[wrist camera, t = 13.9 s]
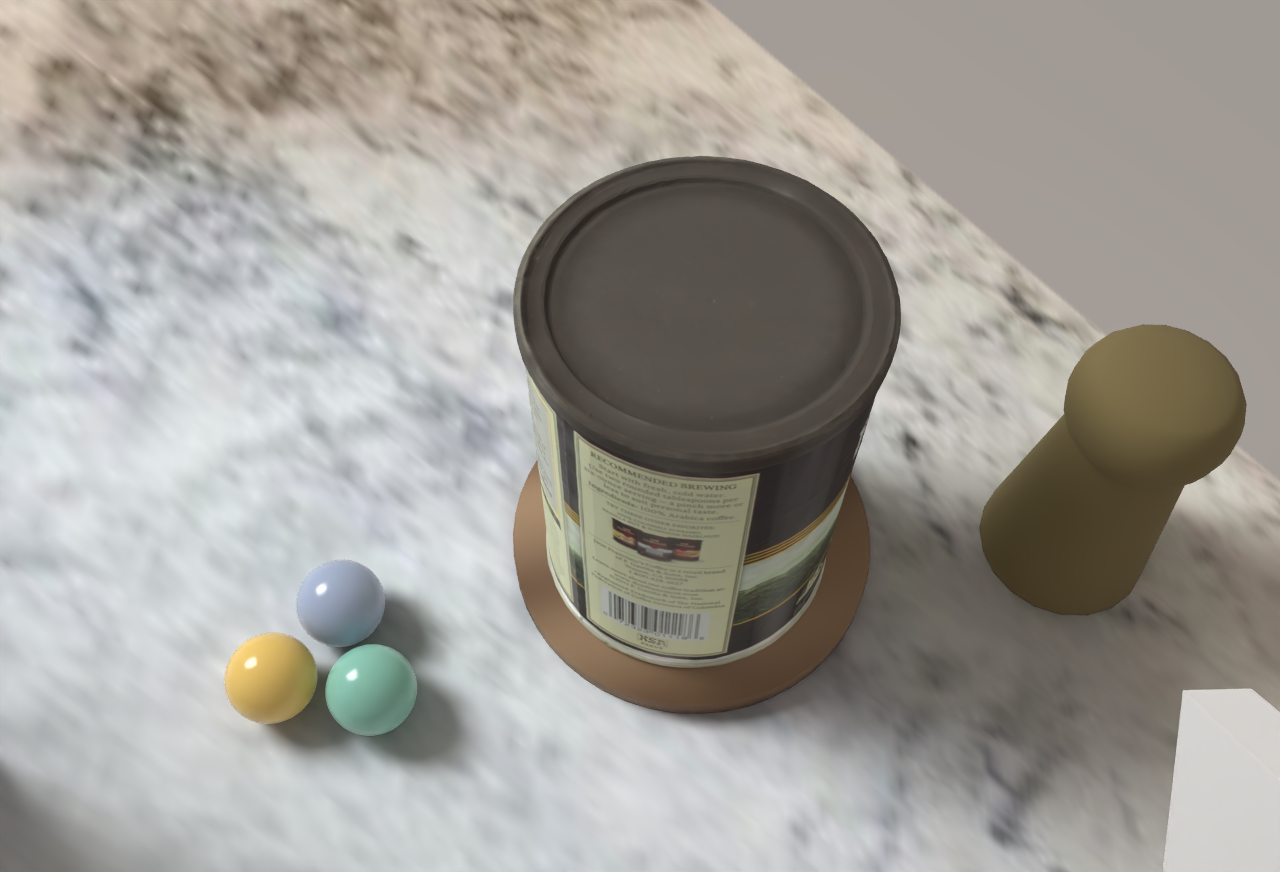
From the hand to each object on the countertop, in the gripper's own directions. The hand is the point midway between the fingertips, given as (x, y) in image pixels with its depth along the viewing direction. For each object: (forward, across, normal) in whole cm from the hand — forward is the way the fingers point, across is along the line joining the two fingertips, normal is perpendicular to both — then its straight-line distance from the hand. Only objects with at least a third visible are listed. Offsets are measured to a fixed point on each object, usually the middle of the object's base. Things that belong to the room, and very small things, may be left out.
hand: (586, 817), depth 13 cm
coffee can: (+30, +4, -7) cm, 31 cm away
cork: (+31, +18, -8) cm, 36 cm away
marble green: (+27, -7, -12) cm, 30 cm away
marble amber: (+27, -11, -12) cm, 31 cm away
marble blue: (+29, -9, -10) cm, 32 cm away
